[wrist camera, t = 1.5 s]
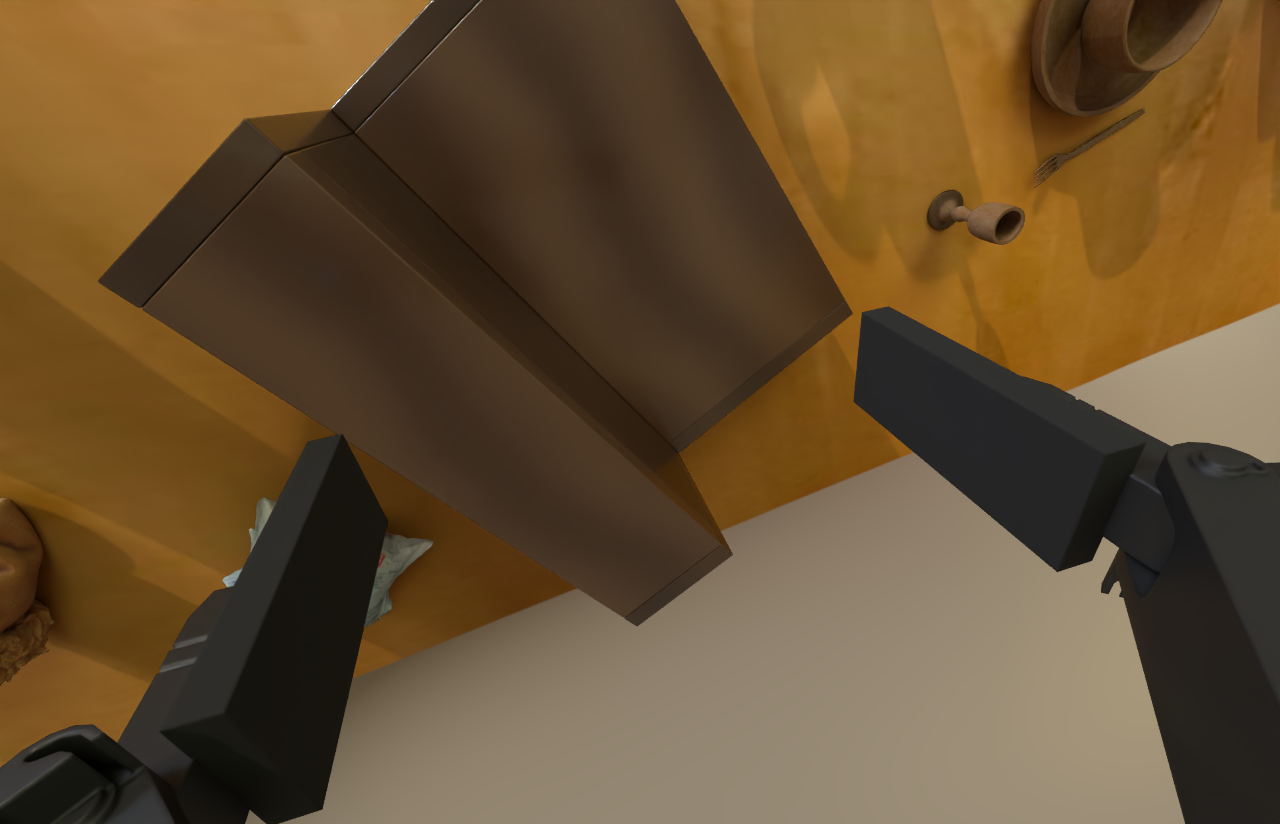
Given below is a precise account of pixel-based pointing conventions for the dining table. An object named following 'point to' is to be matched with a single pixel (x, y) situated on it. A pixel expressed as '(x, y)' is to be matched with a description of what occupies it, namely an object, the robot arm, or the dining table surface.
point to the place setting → (1088, 78)
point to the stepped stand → (509, 276)
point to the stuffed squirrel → (19, 592)
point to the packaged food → (391, 564)
